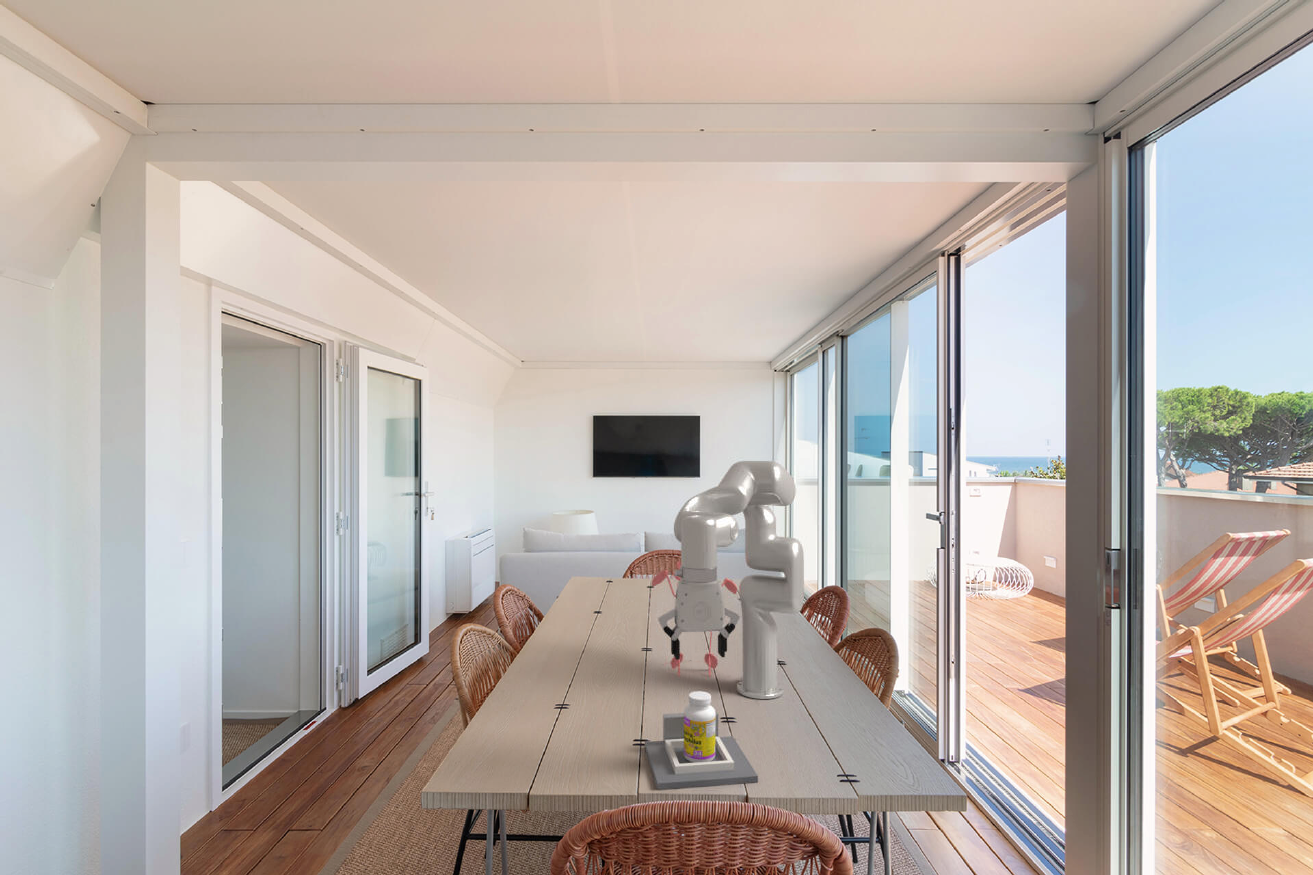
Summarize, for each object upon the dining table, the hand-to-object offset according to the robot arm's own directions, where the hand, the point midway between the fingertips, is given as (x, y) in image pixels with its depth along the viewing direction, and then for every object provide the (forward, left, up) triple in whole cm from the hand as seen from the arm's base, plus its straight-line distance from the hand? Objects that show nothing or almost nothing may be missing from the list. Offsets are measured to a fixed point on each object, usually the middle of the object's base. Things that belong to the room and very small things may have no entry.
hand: (699, 656), depth 132 cm
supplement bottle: (0, 0, -21) cm, 21 cm away
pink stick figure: (-59, +12, -22) cm, 64 cm away
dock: (0, 0, -22) cm, 22 cm away
